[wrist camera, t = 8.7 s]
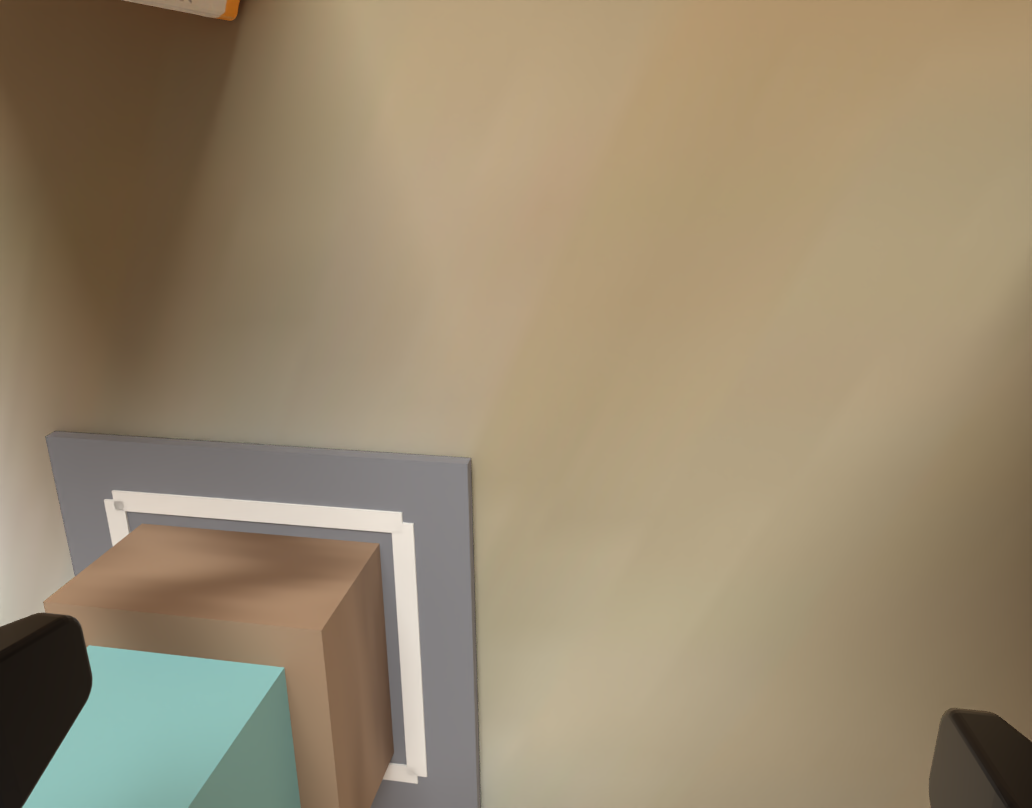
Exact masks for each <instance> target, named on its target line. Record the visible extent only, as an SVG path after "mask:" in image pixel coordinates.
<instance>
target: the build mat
mask: <svg viewBox="0 0 1032 808" xmlns="http://www.w3.org/2000/svg"><path fill="white" fill-rule="evenodd" d="M45 438H46V442H47V447H48V452H49V457H50V461H51V466H52V471H53V475H54V480H55V485H56V490H57V494H58V499H59V504H60V508H61V513H62V518H63V522H64V527H65V532H66V537H67V541H68V546H69V551H70V555H71V560H72V565H73V570H74V574H75V576H76V575H78V574H79V573H80V572H81V571H83V570H84V569H85V568H87V567H88V566H89V565H90V564H92V563H93V562H94V561H95V560H97V559H98V558H99V557H100V556H102V555H103V554H104V553H105V552H107V551H108V550H109V549H110V548H112V547H113V546H114V545H115V544H117V543H118V542H119V541H121V540H122V539H123V538H124V537H126V536H127V535H128V534H129V533H131V532H132V531H133V530H134V529H136V528H137V527H138V526H139V525H141V524H153V525H165V526H177V527H189V528H201V529H213V530H225V531H237V532H249V533H261V534H273V535H285V536H297V537H308V538H320V539H332V540H344V541H356V542H368V543H379V545H380V559H381V574H382V588H383V602H384V616H385V630H386V645H387V659H388V673H389V687H390V701H391V716H392V730H393V744H394V754H393V756H392V758H391V761H390V763H389V765H388V768H387V770H386V772H385V775H384V777H383V779H382V782H381V784H380V786H379V789H378V791H377V793H376V796H375V798H374V800H373V803H372V805H371V807H370V808H481V802H480V766H479V730H478V694H477V658H476V621H475V585H474V549H473V513H472V477H471V458H463V457H447V456H432V455H416V454H401V453H385V452H370V451H354V450H339V449H323V448H308V447H292V446H277V445H261V444H246V443H230V442H215V441H199V440H184V439H168V438H153V437H138V436H122V435H107V434H91V433H76V432H60V431H54V432H53V433H51V434H49V435H47V436H45Z"/></svg>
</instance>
